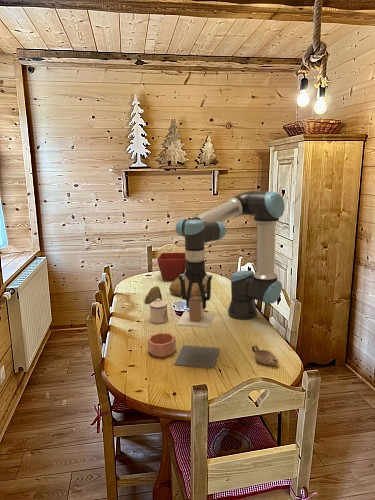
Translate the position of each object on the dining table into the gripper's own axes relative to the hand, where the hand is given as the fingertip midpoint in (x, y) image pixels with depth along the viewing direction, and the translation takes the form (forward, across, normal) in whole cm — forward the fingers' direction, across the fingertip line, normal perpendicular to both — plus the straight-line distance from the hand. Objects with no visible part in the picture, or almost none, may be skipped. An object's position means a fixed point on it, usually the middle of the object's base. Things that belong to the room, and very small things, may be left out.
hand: (196, 315), depth 150 cm
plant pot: (+18, -37, +104) cm, 112 cm away
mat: (+18, 0, 0) cm, 18 cm away
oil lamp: (+19, +27, +1) cm, 33 cm away
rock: (+19, -38, +59) cm, 73 cm away
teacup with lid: (+19, -27, +35) cm, 48 cm away
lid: (+2, 0, 0) cm, 2 cm away
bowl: (+18, -16, +2) cm, 24 cm away
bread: (+19, -19, +79) cm, 83 cm away
